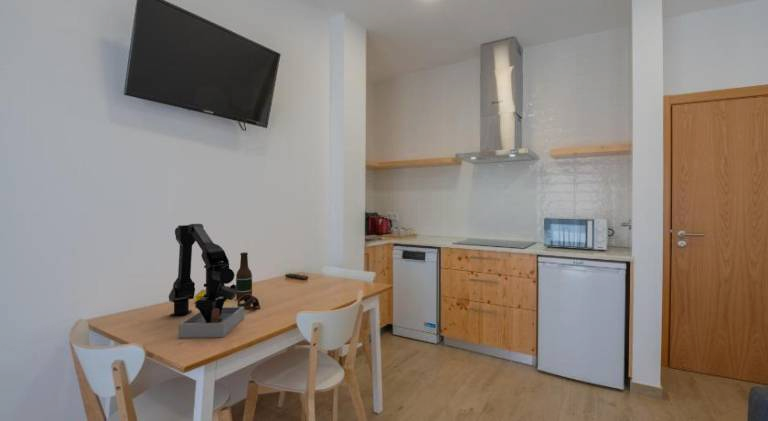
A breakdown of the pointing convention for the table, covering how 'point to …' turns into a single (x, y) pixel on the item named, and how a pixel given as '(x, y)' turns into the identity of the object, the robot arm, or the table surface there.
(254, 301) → the dark brown openwork arch
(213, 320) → the peg
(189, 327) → the socket box
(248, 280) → the beer bottle
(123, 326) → the table surface
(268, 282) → the table surface
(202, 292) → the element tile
